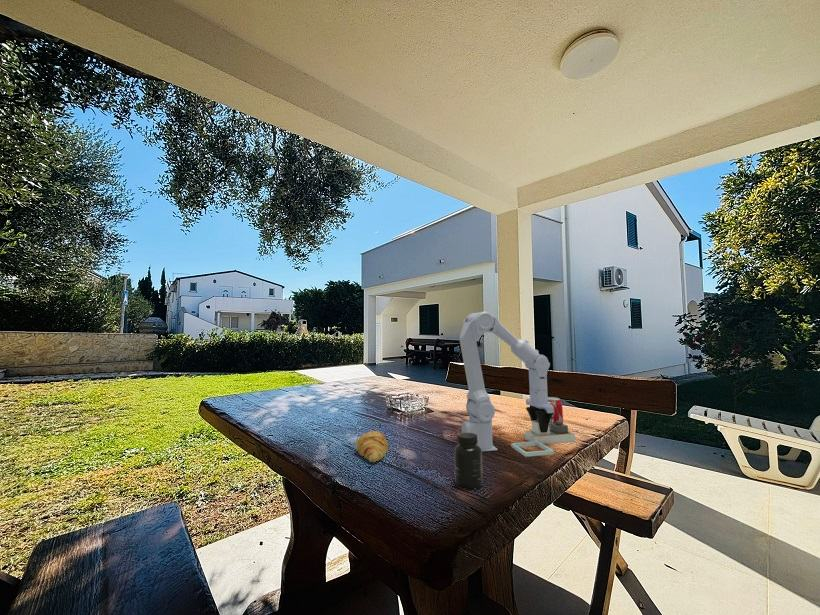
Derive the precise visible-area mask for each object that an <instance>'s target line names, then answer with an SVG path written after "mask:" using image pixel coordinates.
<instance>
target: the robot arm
mask: <svg viewBox="0 0 820 615" xmlns="http://www.w3.org/2000/svg"><path fill="white" fill-rule="evenodd" d="M485 333H492V334H494V335H495V336H496V337H497V338H499V339H500V340H501V341H502V342H504V343H506V345H508V346H509V347H510V351H511V353H512V354H513V355H514V356H516V357H517V358H518V359H519V360H521V361H522V362H523V363H524V366H525V368H526V369H528V381H529V383H528V384H529V398H525V404H526V406H527V407H525V410H526V412H528V415H529V418H530V420H531V422H532V421H536V420H537V418H538V421H539V427H540V431H541V432H542V433H543V432H547V431H548V426H549V422H550V419H551V417H552V415H553V413H554V407H553V406H551V405H550V404H551V402H548V397H549V395H548V376H547V375H548V371H549V368H550V367H551V362H549V359H548V357H547V356H545V355H544V354H540V353H539V352H540V351H539V350H538V349H535V348H534V347H532V345H530V344H529V343H530V342H529V341H528V340H527V339H523V338H520V339H517V337H516V336H515V335H514V334H513V333H511V331H509V330H508V329H507V328H506V327H505V325H503V323H501V322H500V321H499V320H498V318H497V317H496V316H493V315H492V314H491V313H490V312H489V311H485V310H483V311H480V312H472V313H469V314H467V316H466V317H465V318H464V319H463V325H462V328H461V331H460V335H459V344H460V350H461V354H462V355H461V357H462V361H463V366H464V372H465V377H466V382H467V388H468V393H467V394H466V401H467V402H466V404H465V405H466V406H465V408H466V411H467V414H468V415H469V418H468V420H466V421H463V422H462V423H461V433H473V434H476V435H477V440H478V444H477V445H478V446H479V447H480V448H481V450H482V452H490V451H498V448H497V447H495V446H494V444H493V418H494V417H495V414H496V409H495V407H494V405H493V403H492V402H491V398H490V396H489V394H488V392H487V391H486V388H485V381H484V375H483V370H482V365H481V360H480V355H479V354H480V353H479V350H478V348H479V347H478V341H479V339H481V337H482V336H483V335H484V334H485ZM528 405H529V406H528Z"/></svg>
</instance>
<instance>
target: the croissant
mask: <svg viewBox="0 0 820 615" xmlns="http://www.w3.org/2000/svg"><path fill="white" fill-rule="evenodd" d="M386 438H387V437H386V436H385V435H384V434H383V433H382V432H380V431H377V430H370V431H367V432H365V433H363V434H362V435H361V436H360V437H358V439H357V440H356V442H355V444H354V445H355V446H354V447H355V450H356V452H358V455H360V456H361V455H362V456H361V457H363V456H364V457H363V458H364V459H365V458H366V459H365V460H368V461H369V462H370V463H377V462H378V461H381V460H382V459H383V458H384V457H385V456H386V452H387V453H388V451H389V444H388V441H387V439H386ZM376 461H377V462H376Z"/></svg>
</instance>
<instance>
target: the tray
mask: <svg viewBox="0 0 820 615" xmlns="http://www.w3.org/2000/svg"><path fill="white" fill-rule="evenodd" d="M510 446H511V448H512V449H514V450H515V451H516V452H518V453H519V454H521V455H522V456H524V457H538V456H549V455H550V456H551V455H554V454H555V452H554V451H555V450H554V449H552V448H550V447H548V446H547V445H546V444H542V443H540V442H538V441H534V442H529V441H522V442H511V444H510ZM535 446H537V447H539V448H541V449H543V450H536V451H535V450H533V451H525V450H524V449H522V448H521V447H535Z"/></svg>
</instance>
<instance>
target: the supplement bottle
mask: <svg viewBox="0 0 820 615" xmlns="http://www.w3.org/2000/svg"><path fill="white" fill-rule="evenodd" d="M477 444H478V440H477V435H476V434H473V433H462V432H461V433H459V434H457V444H456V445H455V447H454V451H453V452H454V482H455V485H456V486H458V488H460V487H461V489H463V488H467V489H466V490H475V489H474V488H477V489H479V488H481V487H482V485H483V483H484V481H483V476H484V475H483V451H482V450H481V448H480V447H479V446H478V445H477Z"/></svg>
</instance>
